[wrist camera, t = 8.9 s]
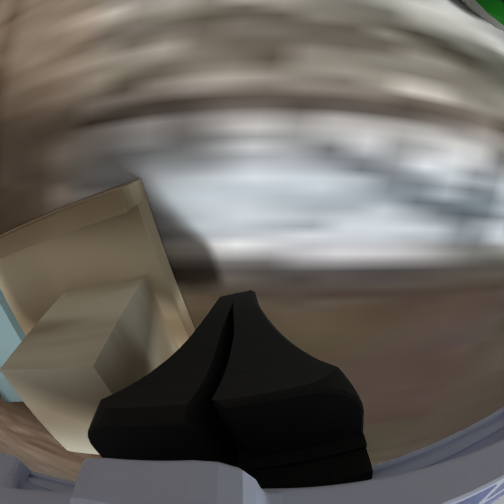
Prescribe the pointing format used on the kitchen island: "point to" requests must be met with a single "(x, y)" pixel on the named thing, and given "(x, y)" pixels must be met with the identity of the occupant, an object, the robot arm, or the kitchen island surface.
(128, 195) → the bed
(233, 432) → the robot arm
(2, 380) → the panel
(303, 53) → the kitchen island surface
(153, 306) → the beige rectangular block
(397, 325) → the kitchen island surface
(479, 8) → the soda can
